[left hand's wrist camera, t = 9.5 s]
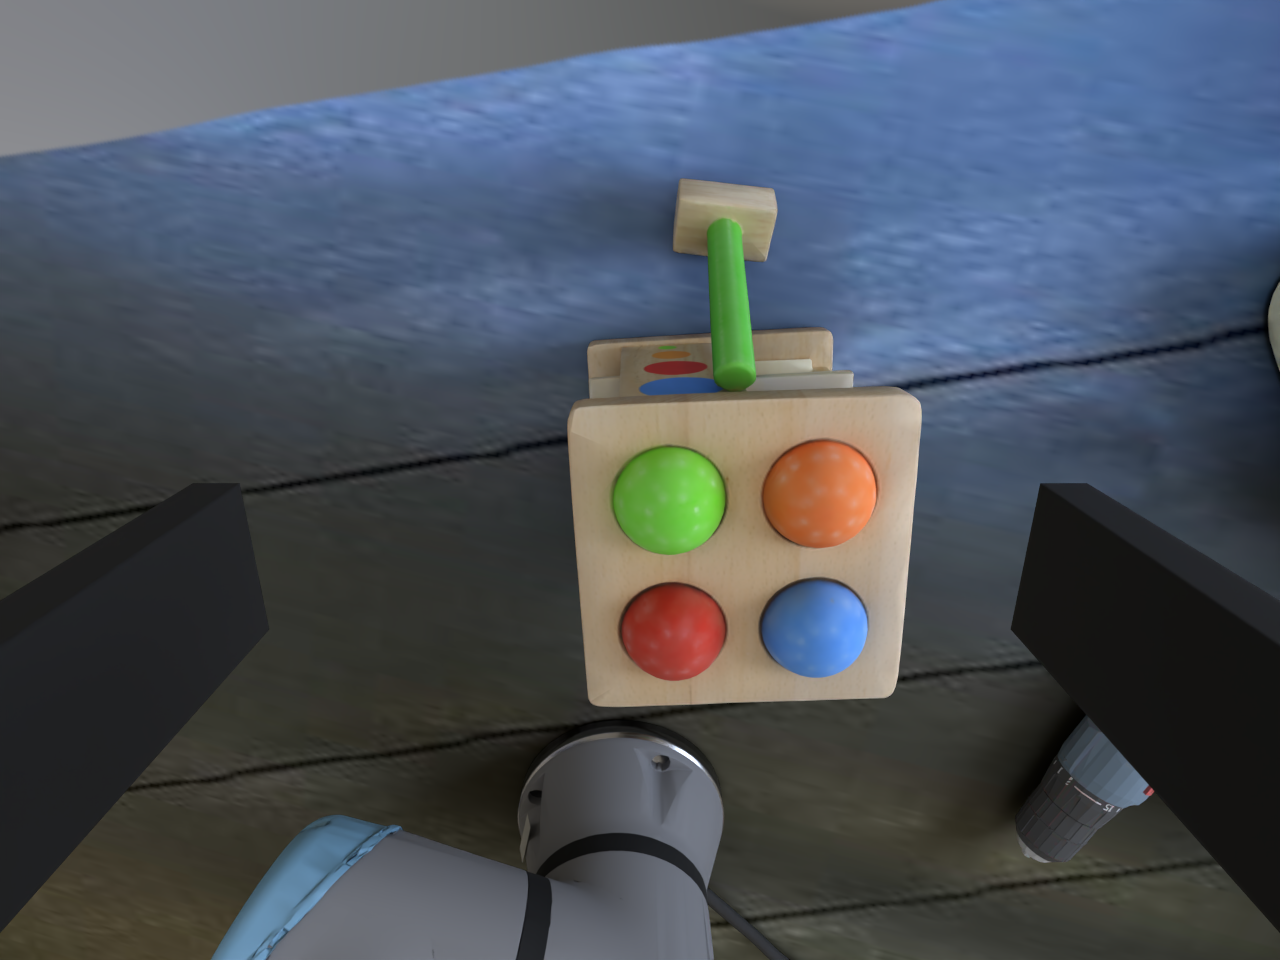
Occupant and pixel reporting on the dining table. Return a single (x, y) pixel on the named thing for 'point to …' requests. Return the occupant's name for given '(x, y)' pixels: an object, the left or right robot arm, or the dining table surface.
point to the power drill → (1077, 796)
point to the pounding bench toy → (738, 498)
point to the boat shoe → (1275, 324)
